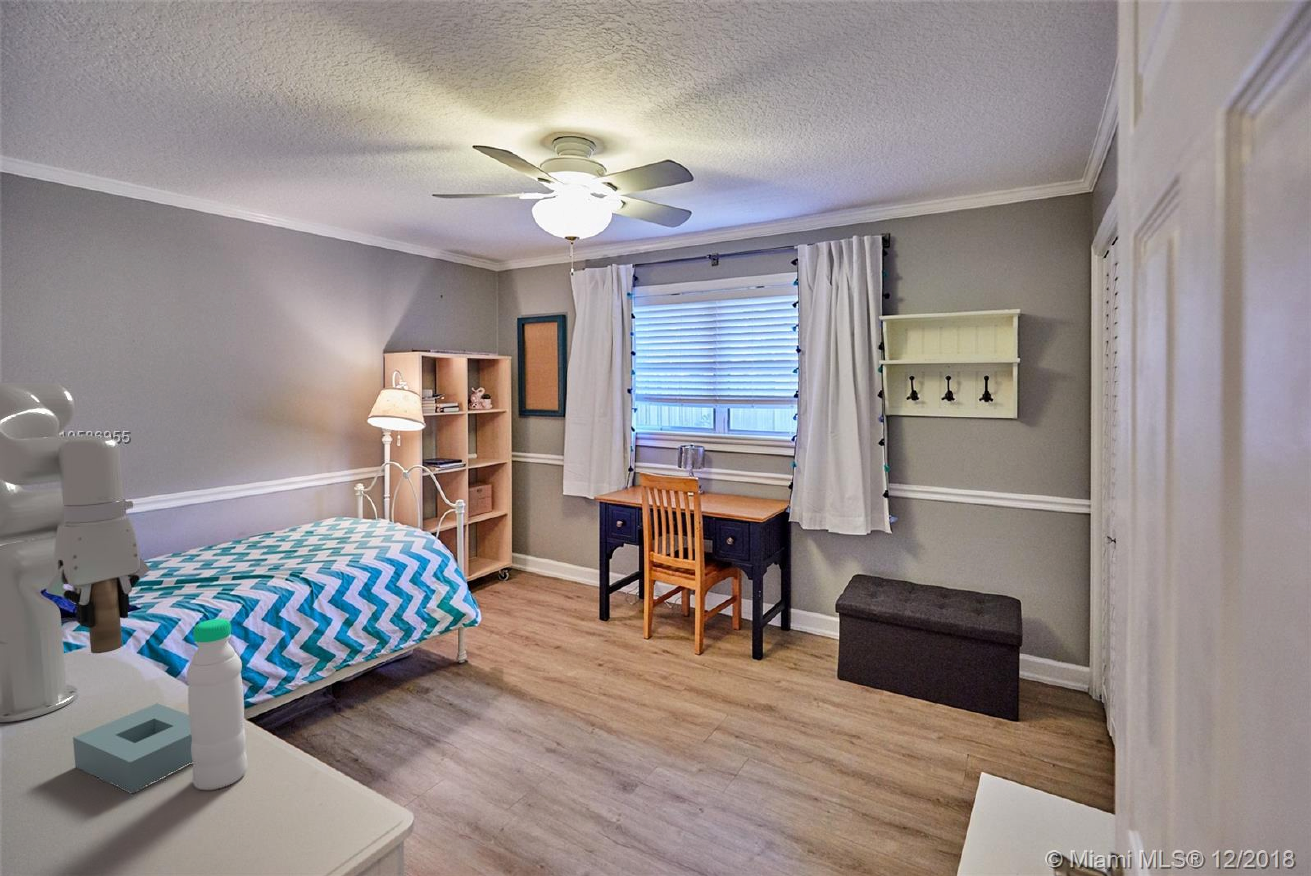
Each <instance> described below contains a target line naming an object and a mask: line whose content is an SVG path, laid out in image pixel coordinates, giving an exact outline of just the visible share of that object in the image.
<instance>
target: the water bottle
mask: <svg viewBox="0 0 1311 876" xmlns="http://www.w3.org/2000/svg"><path fill="white" fill-rule="evenodd" d="M231 633H232V625H231V622H230V621H229V620H228V619H225V618H215V619H214V618H213V619H209V620H205V621H204V620H203V621H202V622H199V623H197V624H196V625H195V626H194V627H193V630H192V636H193V640H194V644H196V645H197V649H196V651H195V653H194V654H193V656H192V660H191V662H190V663H189V665H188V668H187V670H186V682H188V686H187V687H188V689H187V690H188V691H187V702H188V704H187V705H188V707H187V709H188V715H189V722H190V731H191V736H192V744H191V755H192V760H193V764H192V773H191V774H192V783H193V786H194V787H195V788H196V789H198V790H201V791H213V790H214V789H215V790H219V789H218V788H220V789H222V787H223V788H225V787H224V786H226V787H228V786H230V784H231V785H233V784H234V783H236V782H237V781H239V780H240V779H241V778H243V776H244V775H245V774H246V773H247V771H248V770H247V769H248V757H247V751H246V745H247V744H246V743H247V742H246V741H247V740H246V739H247V738H246V730H245V727H244V724H245V702H244V701H245V699H244V698H245V697H244V687H243V679H242V673H241V672H242V667H243V664H242V663H243V662H242V660H241V658H240V656H239V655H238V654H237V652H235V648H234V647H233V646H232V645H231V644H230V643H229V639H230V638H231ZM227 785H228V786H227Z"/></svg>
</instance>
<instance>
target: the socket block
mask: <svg viewBox="0 0 1311 876" xmlns="http://www.w3.org/2000/svg"><path fill="white" fill-rule="evenodd" d="M72 740H73V741H72V742H73V752H74V755H73V756H74V766H75V767H74V768H76V767H77V768H76V769H78V768H79V770H80V769H81V770H80V771H82V770H83V772H85V773H87V772H88V773H87V774H89V773H90V774H89V775H91V774H92V775H91V776H93V775H94V776H93V777H95V776H98V777H99V778H101V779H100V780H102V779H103V780H102V781H104V782H106V781H108V782H111V783H113V784H115V785H118V786H119V787H121V788H123V789H125V790H127V791H129V792H131V793H134V792H136V791H137V790H140V789H141V788H143V787H145V786H146V785H149V784H150V783H151V782H154V781H157V780H159V779H160V778H162V777H164V776H167V775H168V774H169V773H171V772H174V771H176V770H178V769H179V768H181V767H183V766H185V765H187V764H189V763H192V762H193V760H192V755H191V744H192V736H191V731H190V722H189V713H186V712H185V713H184V712H182V711H179V710H177V709H174V708H171V707H168V706H166V705H162V704H160V703H155V704H152V705H150V706H147V707H144V708H142V709H140V710H137V711H134V712H133V713H130V714H127V715H125V716H122V717H119V718H117V719H114V720H113V721H110V722H108V723H104V724H103V725H100V726H98V727H96V728H93V729H91V730H88V731H85V732H82V733H79V734H78V735H75V736H73V737H72ZM99 778H98V779H99ZM108 782H107V783H108ZM119 787H118V788H119ZM121 788H120V789H121ZM123 789H122V790H123ZM125 790H124V791H125ZM127 791H126V792H127ZM140 791H141V790H140ZM129 792H128V793H129ZM131 793H130V794H131ZM136 793H137V792H136ZM134 794H135V793H134Z"/></svg>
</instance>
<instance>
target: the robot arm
mask: <svg viewBox="0 0 1311 876" xmlns="http://www.w3.org/2000/svg"><path fill="white" fill-rule="evenodd" d="M75 410H76V405H75V401H74V398H73V396H72V394H71V392H70V391H69V390H68V389H66V388H65V387H63V385H60V384H57V383H54V382H0V723H8V722H9V723H10V722H11V723H12V722H18V721H23V720H28V719H33V718H37V717H39V716H44V715H46V714H49V713H52V712H54V711H57V710H59V709H61V708H64V707H65V706H67V705H68V704H70V703H71V702H73V701H75V699H76V698H77V697H78V693H79V692H78V691H79V690H78V687H76V686H74V685H70V684H67V677H66V665H65V663H66V662H65V653H64V641H63V640H64V639H63V626H62V618H61V617H62V615H61V614H62V613H61V611H60V608H59V606H58V605H57V604H56V603H55V602H54V601H52V600H51V599H49V598H48V597H46V596H44V595H43V594H42V593H41V592H42V591H43V590H45V589H46V590H45V592H46V593H47V594H50V595H54V596H57V597H62V598H64V599H66V600H67V601H69V602H71V603H73V604H75V613H76V614H75V615H76V622H77V623H78V624H79V625H80V626H81V627H83V628H87V629H89V628H92V627H94V626H95V615H94V605H93V603H90V601H89V596H90V589H91V584H95V583H98V582H100V581H103V580H106V579H112V578H114V579H116V578H117V588H118V599H119V611H120V619H126V618H128V617H129V611H130V608H131V607H130V606H131V605H130V597H129V596H130V595H129V594H130V593H132V591H133V588H134V587H135V585H136V584H137V583H138V582H139V581H140V579H141V578H143V577H144V576H146V574H147V573H149V572H150V570H151V567H150V566H149V565H148V564H147V563H146V562H145V561H144V560H143V559H142V558H141V557H140V553H139V552H140V550H139V546H138V541H137V536H136V533H135V529H134V526H133V523H132V521H131V518H130V516H126V515H127V511H128V510H129V509H130V510H131V509H133V508H134V502H133V501H132V500H128V501H127V500H126V499H125V498H124V489H123V487H124V486H123V476H122V461H121V453H120V452H121V451H120V445H119V443H118V441H117V440H116V439H113V438H110V437H99V436H96V435H85V434H84V435H83V434H82V435H68V436H67V435H65V436H62V435H61V436H58V434H59V433H61V431H63V430H64V429H65V428H66V427H67V426H68V425H69V424H70V423H71V422H72V420H73V418H74V417H75ZM57 482H60V484H61V488H60V487H57V488H52V487H51V488H44V489H34V490H27V489H24V488H23V487H22V486H31V485H32V486H33V485H38V484H39V485H40V484H41V485H42V484H49V483H57ZM64 585H69V586H70V587H72V588H71V589H72V590H70V589H67V588H64Z"/></svg>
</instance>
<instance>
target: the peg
mask: <svg viewBox="0 0 1311 876" xmlns="http://www.w3.org/2000/svg"><path fill="white" fill-rule="evenodd" d="M89 601H90V603H93V605H94V615H95V626H94V627H92V628H88V632H89V641H90V642H89V643H90V644H89V645H90V652H91V653H92V654H105V653H109V652H113V651H116V650H119V649H120V648H122V647H123V637H122V628H121V627H122V625H121V624H122V623H121V622H122V621H121V618H120V611H119V599H118V588H117V578H116V579H114V578H112V579H106V580H103V581H100V582H98V583H95V584H91V589H90V596H89Z"/></svg>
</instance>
